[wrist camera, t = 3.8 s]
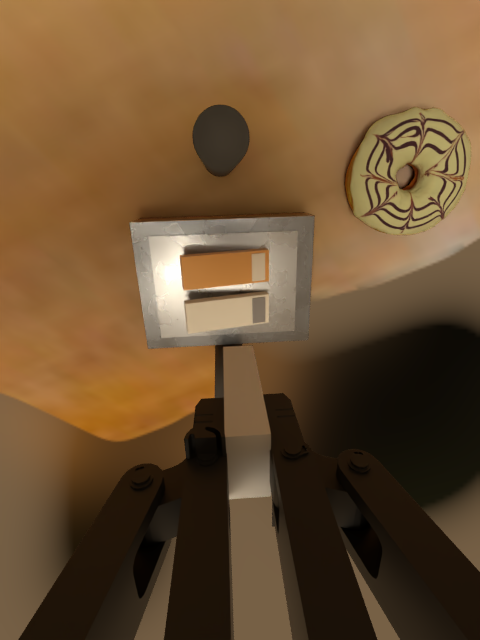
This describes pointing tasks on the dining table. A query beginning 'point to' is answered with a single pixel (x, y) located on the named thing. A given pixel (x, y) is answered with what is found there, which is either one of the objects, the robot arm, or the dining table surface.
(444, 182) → the decorated donut
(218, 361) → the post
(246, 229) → the breaker box
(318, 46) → the dining table surface
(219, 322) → the paddle ivory
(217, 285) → the paddle orange
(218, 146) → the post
